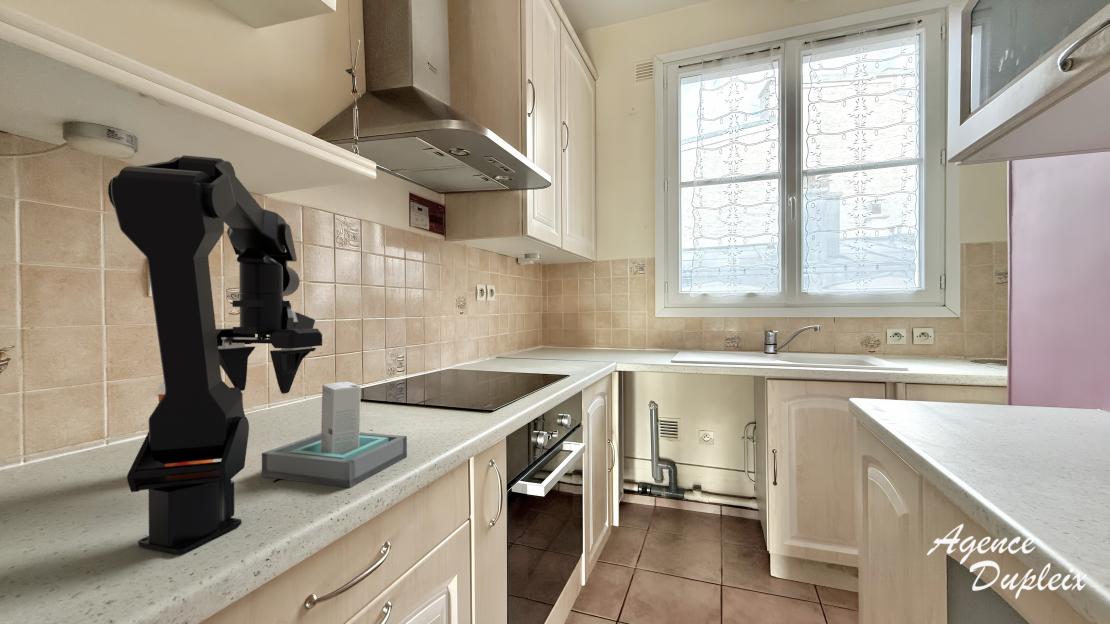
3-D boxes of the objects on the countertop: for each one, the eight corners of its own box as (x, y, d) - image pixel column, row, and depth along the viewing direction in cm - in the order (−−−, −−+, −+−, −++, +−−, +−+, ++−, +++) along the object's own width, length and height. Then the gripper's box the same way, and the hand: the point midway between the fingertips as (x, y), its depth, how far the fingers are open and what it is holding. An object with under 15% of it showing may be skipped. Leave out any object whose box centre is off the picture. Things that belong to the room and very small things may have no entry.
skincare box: (319, 459, 67) (318, 383, 67) (349, 452, 70) (348, 380, 70) (330, 469, 63) (330, 388, 63) (362, 461, 66) (361, 385, 66)
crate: (349, 487, 59) (349, 462, 59) (262, 476, 63) (261, 453, 63) (406, 456, 71) (406, 436, 71) (330, 449, 75) (330, 429, 75)
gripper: (347, 295, 72) (348, 385, 72) (264, 297, 77) (265, 381, 77) (290, 292, 61) (291, 398, 61) (198, 294, 66) (199, 392, 66)
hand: (262, 391), depth 67 cm, fingers open, 9 cm apart
